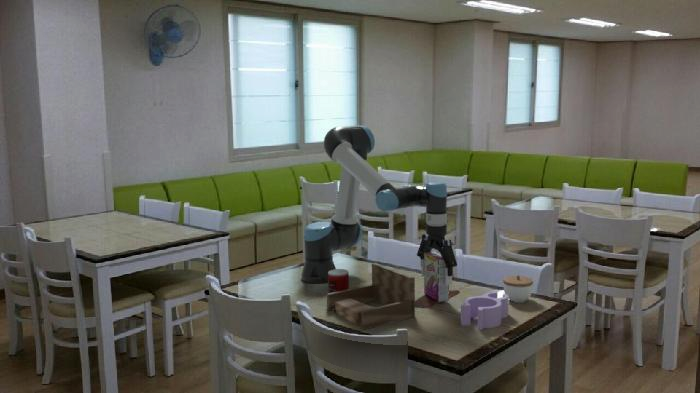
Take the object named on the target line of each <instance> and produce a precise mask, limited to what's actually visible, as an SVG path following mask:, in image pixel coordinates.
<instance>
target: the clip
mask: <svg viewBox="0 0 700 393" xmlns="http://www.w3.org/2000/svg"><path fill="white" fill-rule="evenodd" d="M476 317H477V330H478V331H481V330H483V329H493V328H495V327H498V326H500V325H501V324H502V320H503V319H506V318H507V317H509V298H508V295H507V294H505V293H503V294H502V297H498V292H497V291H490V292H485V293H484V294H483V295H480V296H479V295H478V296H477V295H476V296H470V297H467V298H465V299H464V300H463V303H462V304H460V326H471V318H476Z"/></svg>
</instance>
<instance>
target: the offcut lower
mask: <svg viewBox="0 0 700 393" xmlns="http://www.w3.org/2000/svg"><path fill="white" fill-rule="evenodd" d="M335 313H336V314H337V313H338V314H337V315H339V316H340V315H341V317H342V318H344V319H345V318H346V320H347V321H349V322H350V323H352V324H354V325H356V326H358V325H361V319H360V320H357V319H355V318H353V317H351V316H349V315H347V314H345V313H343V312H340V311H338V310H336V309H335Z"/></svg>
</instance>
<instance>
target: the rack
mask: <svg viewBox="0 0 700 393" xmlns="http://www.w3.org/2000/svg"><path fill="white" fill-rule="evenodd" d="M415 278H416V277H414V276H412V275H409V274H406V273H404V272H401V271H399V270H395V269H393V268H390V267H388V266H385V265H382V264H381V263H380V264H379V263H376V262H372V263H371V284H366V285H361V286H357V287H352V288H349V289H347V290H342V291H337V292H332V293H329V292H328V293H326V310H327V311H330V310H331V311H334V310H333V309H335V302H338V301H342V300H347V299H351V298H352V299H354V300H356V301H358V302H361V303H363V304H366V303H369V302H374V301H375V302H377V303H379V304H382V305H381V306H376V307H372V308H371V309H367V310H363V311H361V324H360V325H361V326H360V327H361V329H362V330H367V329H372V328H376V327H379V326H382V325H386V324H391V323H394V322H399V321H402V320H406V319H410V318H415V316H416V308H415V300H416V298H415V297H416V296H415V295H416V293H415V292H416V290H415V289H416V287H415V286H416V285H415V284H416V282H415V281H416V280H415ZM335 310H336V309H335Z"/></svg>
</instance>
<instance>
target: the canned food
mask: <svg viewBox="0 0 700 393" xmlns="http://www.w3.org/2000/svg"><path fill="white" fill-rule="evenodd" d="M349 273H350V272H349V270H347V269H343V268H336V269H334V270H331V271H329V272H328V282H327V288H328V290H327V291H328V293H332V292H337V291H342V290H347V289H350V286H349V285H350V280H349V279H350V278H349V276H350V275H349Z"/></svg>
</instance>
